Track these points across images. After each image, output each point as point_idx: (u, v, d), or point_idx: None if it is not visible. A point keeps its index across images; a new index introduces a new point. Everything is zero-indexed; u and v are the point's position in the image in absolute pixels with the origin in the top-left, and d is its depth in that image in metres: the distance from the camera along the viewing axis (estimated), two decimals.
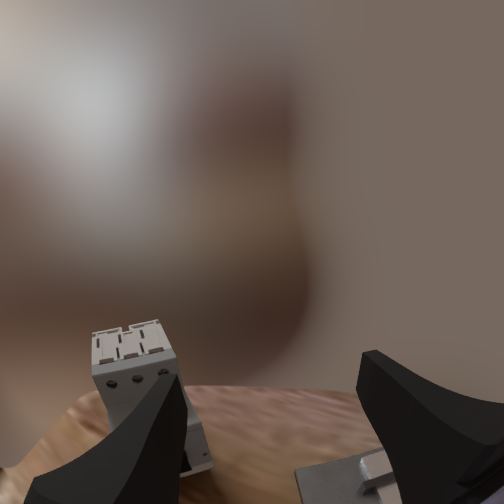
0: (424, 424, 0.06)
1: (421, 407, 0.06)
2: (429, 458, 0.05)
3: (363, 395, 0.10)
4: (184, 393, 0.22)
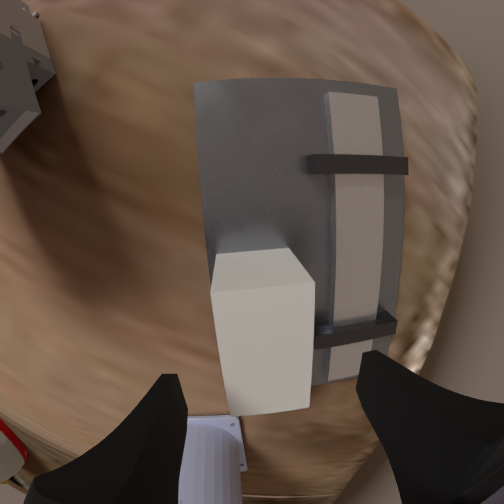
0: (424, 424, 0.06)
1: (421, 407, 0.06)
2: (429, 458, 0.05)
3: (363, 395, 0.10)
4: None
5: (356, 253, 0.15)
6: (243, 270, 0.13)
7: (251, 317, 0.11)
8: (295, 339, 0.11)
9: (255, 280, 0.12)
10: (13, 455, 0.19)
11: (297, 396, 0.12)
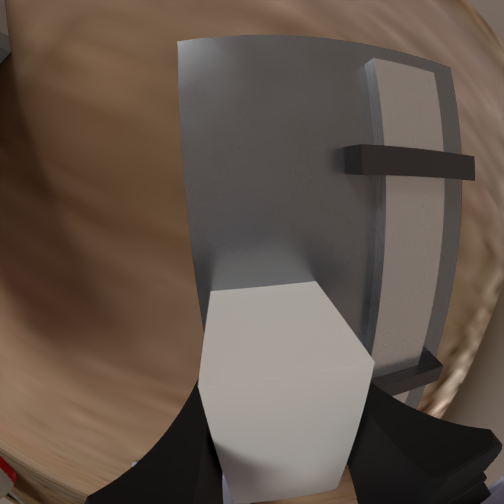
0: (377, 442, 0.06)
1: (374, 423, 0.06)
2: (381, 478, 0.05)
3: None
4: None
5: (406, 287, 0.10)
6: (252, 331, 0.08)
7: (267, 416, 0.06)
8: (331, 434, 0.06)
9: (275, 357, 0.06)
10: (1, 479, 0.14)
11: (323, 483, 0.07)
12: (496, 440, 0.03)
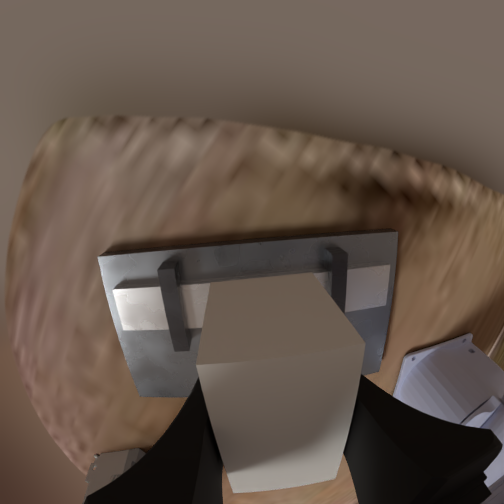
0: (377, 442, 0.06)
1: (375, 423, 0.06)
2: (382, 478, 0.05)
3: None
4: None
5: None
6: (249, 316, 0.08)
7: (263, 397, 0.06)
8: (327, 417, 0.07)
9: (270, 338, 0.07)
10: None
11: (322, 471, 0.08)
12: (496, 440, 0.03)
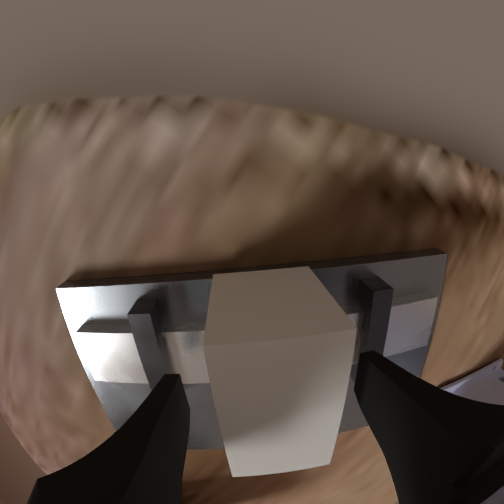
0: (421, 425, 0.06)
1: (418, 408, 0.06)
2: (426, 459, 0.05)
3: (361, 396, 0.10)
4: None
5: None
6: (250, 304, 0.09)
7: (263, 377, 0.07)
8: (322, 400, 0.08)
9: (269, 324, 0.08)
10: None
11: (317, 455, 0.09)
12: None
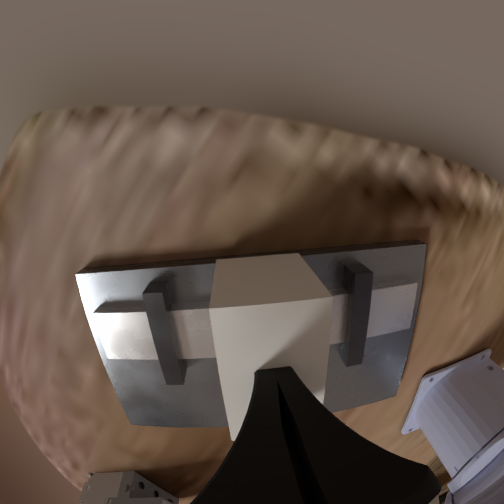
0: (303, 460, 0.05)
1: (301, 440, 0.06)
2: (308, 498, 0.05)
3: None
4: None
5: None
6: (247, 280, 0.11)
7: (257, 337, 0.09)
8: (307, 361, 0.10)
9: (262, 293, 0.10)
10: None
11: None
12: (430, 480, 0.03)
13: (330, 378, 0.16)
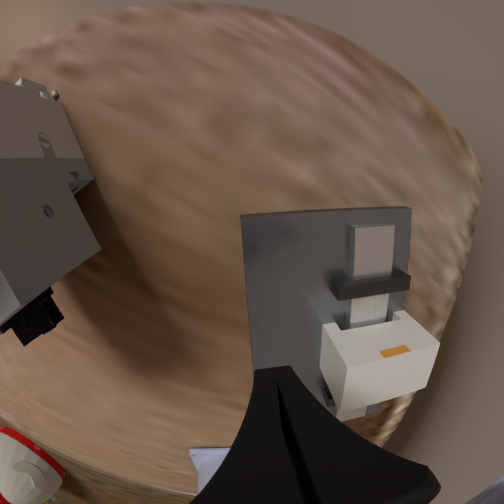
0: (303, 460, 0.05)
1: (301, 441, 0.06)
2: (307, 498, 0.05)
3: None
4: None
5: None
6: None
7: (421, 365, 0.15)
8: (400, 388, 0.16)
9: None
10: (54, 479, 0.23)
11: (354, 403, 0.16)
12: (429, 481, 0.03)
13: None
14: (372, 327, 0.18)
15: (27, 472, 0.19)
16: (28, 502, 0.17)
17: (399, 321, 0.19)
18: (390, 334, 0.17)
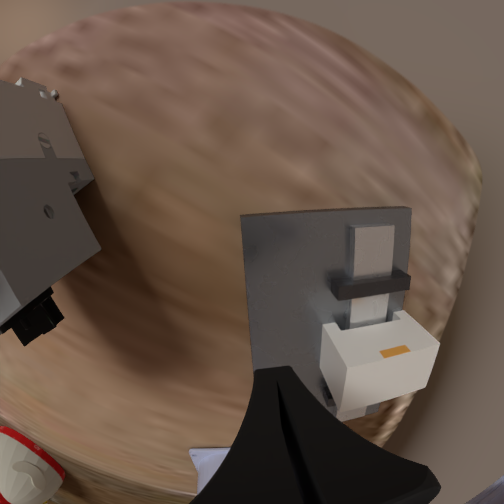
0: (303, 460, 0.05)
1: (301, 441, 0.06)
2: (307, 498, 0.05)
3: None
4: None
5: None
6: None
7: (421, 365, 0.15)
8: (400, 388, 0.16)
9: None
10: (54, 479, 0.23)
11: (354, 403, 0.16)
12: (429, 481, 0.03)
13: None
14: (372, 327, 0.18)
15: (27, 472, 0.19)
16: (28, 502, 0.17)
17: (399, 321, 0.19)
18: (390, 334, 0.17)
